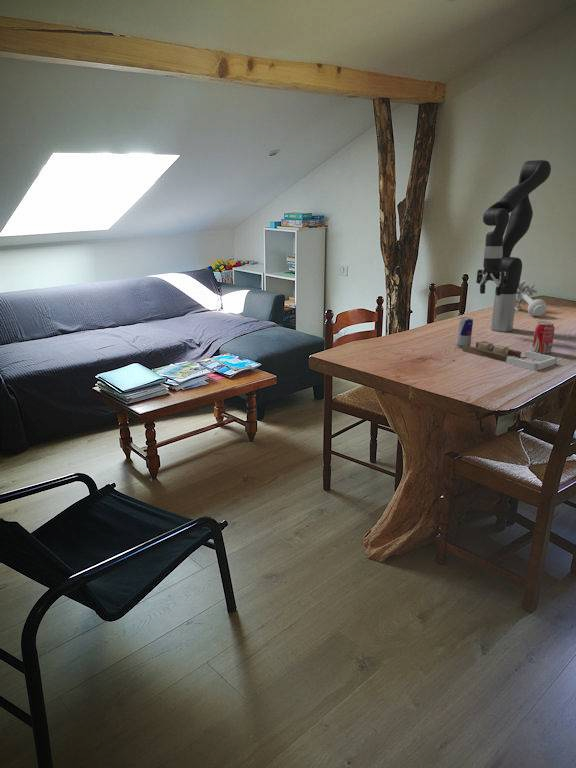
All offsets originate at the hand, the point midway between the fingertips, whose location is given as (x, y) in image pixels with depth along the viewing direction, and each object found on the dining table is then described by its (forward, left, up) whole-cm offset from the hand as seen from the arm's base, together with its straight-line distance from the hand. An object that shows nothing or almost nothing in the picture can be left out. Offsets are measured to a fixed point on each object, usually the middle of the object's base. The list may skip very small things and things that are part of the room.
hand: (490, 294), depth 247 cm
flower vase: (-58, -14, -18) cm, 63 cm away
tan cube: (+26, +17, -18) cm, 36 cm away
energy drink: (+26, +7, -18) cm, 32 cm away
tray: (+26, +37, -18) cm, 48 cm away
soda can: (+8, +31, -18) cm, 37 cm away
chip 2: (+26, +24, -18) cm, 40 cm away
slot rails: (+26, +20, -18) cm, 37 cm away
